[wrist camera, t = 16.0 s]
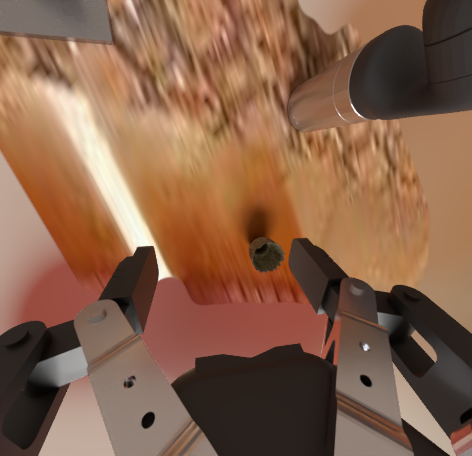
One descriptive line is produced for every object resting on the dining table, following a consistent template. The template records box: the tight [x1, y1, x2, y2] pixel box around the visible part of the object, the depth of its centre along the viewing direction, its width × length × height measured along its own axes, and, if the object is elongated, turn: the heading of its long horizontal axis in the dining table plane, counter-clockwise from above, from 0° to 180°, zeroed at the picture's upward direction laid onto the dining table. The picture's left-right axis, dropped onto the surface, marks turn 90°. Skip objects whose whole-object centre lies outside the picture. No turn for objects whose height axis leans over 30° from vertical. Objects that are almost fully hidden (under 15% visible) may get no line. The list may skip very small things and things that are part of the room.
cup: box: [249, 237, 284, 273], centre depth 47 cm, size 7×7×8 cm
